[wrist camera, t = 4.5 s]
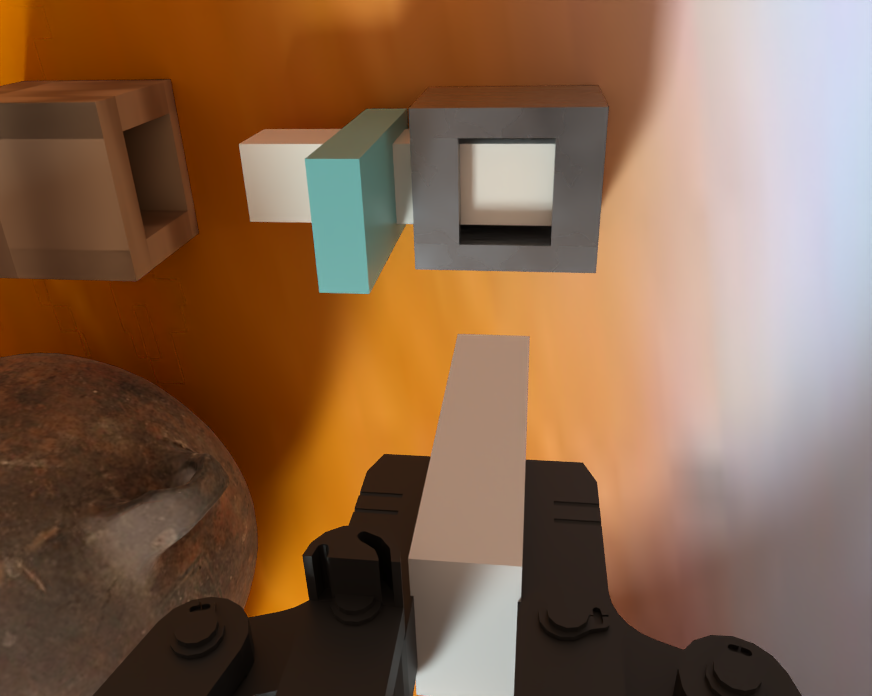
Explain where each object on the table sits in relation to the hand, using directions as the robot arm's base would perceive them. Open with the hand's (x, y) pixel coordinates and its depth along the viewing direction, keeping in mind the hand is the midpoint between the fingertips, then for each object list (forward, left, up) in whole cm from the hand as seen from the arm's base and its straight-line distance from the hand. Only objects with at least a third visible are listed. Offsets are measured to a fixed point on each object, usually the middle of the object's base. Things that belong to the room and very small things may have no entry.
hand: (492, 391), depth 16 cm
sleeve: (0, 0, -23) cm, 23 cm away
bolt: (+4, 0, -22) cm, 23 cm away
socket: (+21, 0, -23) cm, 31 cm away
